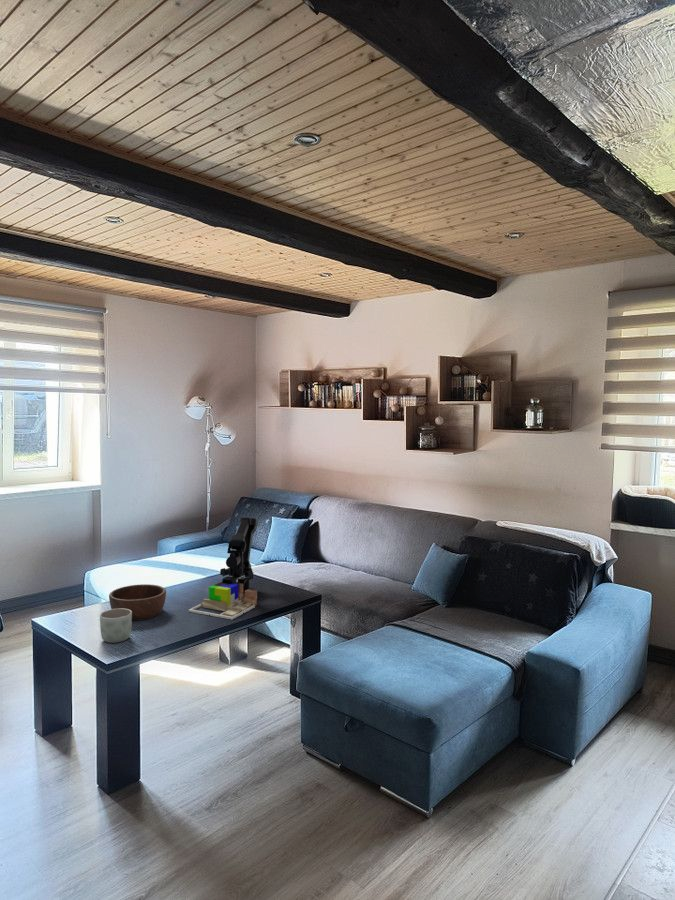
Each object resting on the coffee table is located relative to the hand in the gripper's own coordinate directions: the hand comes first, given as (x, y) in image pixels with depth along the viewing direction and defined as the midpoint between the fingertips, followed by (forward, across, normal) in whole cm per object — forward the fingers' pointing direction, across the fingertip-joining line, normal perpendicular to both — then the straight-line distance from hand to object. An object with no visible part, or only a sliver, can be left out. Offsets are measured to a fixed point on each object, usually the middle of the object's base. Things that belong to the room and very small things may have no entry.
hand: (237, 593), depth 304 cm
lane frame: (+2, +18, +3) cm, 18 cm away
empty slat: (+2, +15, +12) cm, 20 cm away
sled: (+2, +9, 0) cm, 9 cm away
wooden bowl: (+2, +39, -28) cm, 48 cm away
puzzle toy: (+2, +14, +1) cm, 14 cm away
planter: (+2, +67, -14) cm, 69 cm away
